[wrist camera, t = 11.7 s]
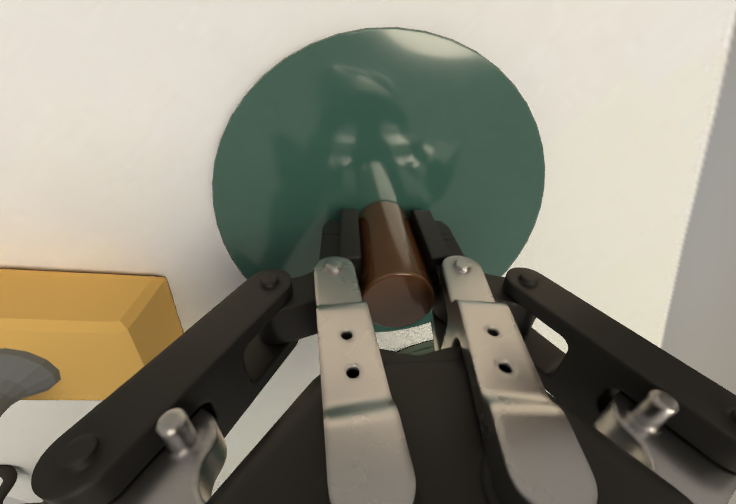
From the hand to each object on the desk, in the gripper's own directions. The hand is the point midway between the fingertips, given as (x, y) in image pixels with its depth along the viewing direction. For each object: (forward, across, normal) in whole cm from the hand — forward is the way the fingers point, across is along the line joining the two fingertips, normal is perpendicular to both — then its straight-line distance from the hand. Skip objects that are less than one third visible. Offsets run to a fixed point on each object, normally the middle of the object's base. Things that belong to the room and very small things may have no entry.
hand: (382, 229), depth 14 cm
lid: (+1, 0, 0) cm, 1 cm away
